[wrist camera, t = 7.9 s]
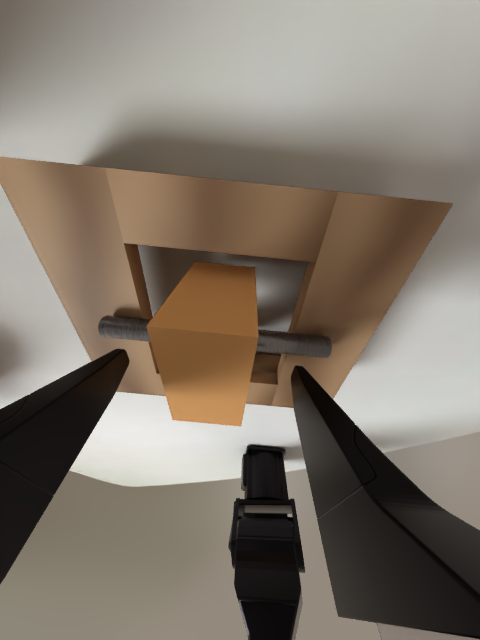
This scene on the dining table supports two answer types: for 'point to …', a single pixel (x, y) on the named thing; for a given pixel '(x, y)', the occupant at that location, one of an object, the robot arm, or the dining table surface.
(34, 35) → the dining table surface
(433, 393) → the dining table surface
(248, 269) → the bracket
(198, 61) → the dining table surface
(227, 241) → the cutout shelf
